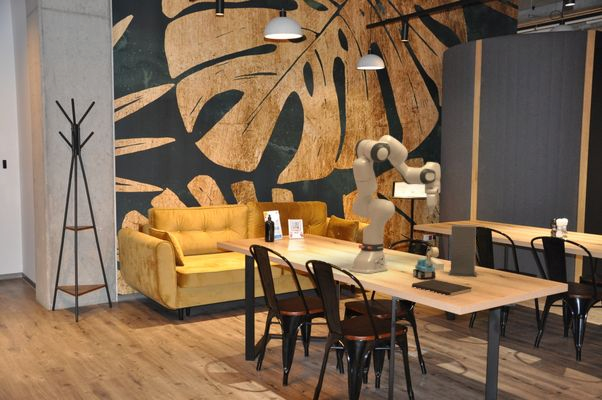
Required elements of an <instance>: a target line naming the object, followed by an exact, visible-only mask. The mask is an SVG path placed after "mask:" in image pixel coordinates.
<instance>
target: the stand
mask: <svg viewBox="0 0 602 400" xmlns="http://www.w3.org/2000/svg"><path fill="white" fill-rule="evenodd" d="M476 236H477V225H474V224H452V225H451V240H450V241H451V242H450V243H451V244H450V247H451V248H450V269H449V271H448V275H447V276H451V277H452V276H454V277H470V278H471V277H472V278H474V277H475V278H476V277H477V274H478V272H477V271H476V243H477V242H476V239H477V238H476Z"/></svg>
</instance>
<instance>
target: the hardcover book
mask: <svg viewBox="0 0 602 400" xmlns="http://www.w3.org/2000/svg"><path fill="white" fill-rule="evenodd" d="M414 287H416V288H415V289H418V288H421V289H420V290H422V289H425V290H424V291H426V290H430V291H429V292H431V291H434V292H433V293H435V292H437V293H436V294H439V293H441V294H440V295H443V294H445V295H444V296H447V295H452V296H456V295H455V294H457V295H460V294H459V293H461V294H465V293H464V292H466V293H470V292H472V289H473V286H472V287H471V286H467V285H461V284H457V283H452V282H448V281H444V280H439V279H435V278H432V279H427V280H424V281H418V282H413V283H412V284H411V288H414ZM469 291H470V292H469Z"/></svg>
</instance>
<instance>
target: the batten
mask: <svg viewBox="0 0 602 400" xmlns="http://www.w3.org/2000/svg"><path fill="white" fill-rule="evenodd" d="M431 262H432V263H433V267H435V271H444V270H445V269H444V268H445V263H443V262H442V261H440V260H439V259H437V257H431Z"/></svg>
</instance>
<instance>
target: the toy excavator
mask: <svg viewBox="0 0 602 400" xmlns="http://www.w3.org/2000/svg"><path fill="white" fill-rule="evenodd" d="M439 255H440V251H439V248H438V247H436V246H435V247H434V246H433V247H432V246H431V247H430V250H428V251H427V253H426V257H423V258H422V257H420V258H418V259H417V262H416V265H415V267H414V269H413V270H412V275H413V277H416V278H418V279H419V280H423V279H424V278H427V279H428V278H430V279H436V270H435V267H433V263H432V262H431V258H438V257H439Z"/></svg>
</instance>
